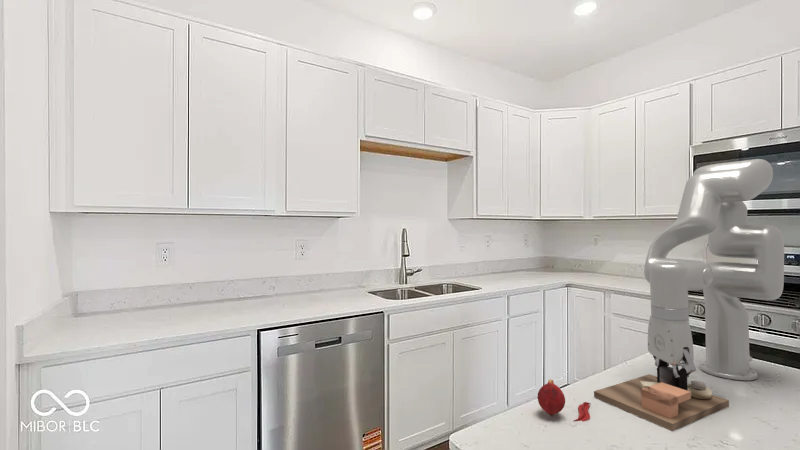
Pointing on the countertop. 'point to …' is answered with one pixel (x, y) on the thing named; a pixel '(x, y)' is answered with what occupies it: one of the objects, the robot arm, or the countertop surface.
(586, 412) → the cayenne pepper
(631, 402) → the board
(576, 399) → the countertop surface
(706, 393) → the link
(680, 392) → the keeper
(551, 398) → the red rounded oval piece
